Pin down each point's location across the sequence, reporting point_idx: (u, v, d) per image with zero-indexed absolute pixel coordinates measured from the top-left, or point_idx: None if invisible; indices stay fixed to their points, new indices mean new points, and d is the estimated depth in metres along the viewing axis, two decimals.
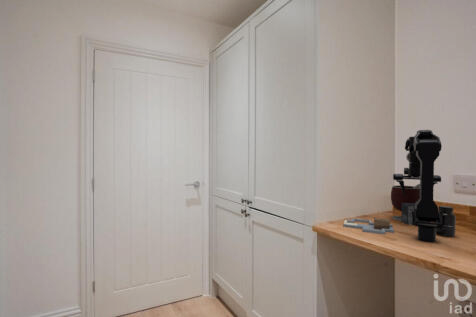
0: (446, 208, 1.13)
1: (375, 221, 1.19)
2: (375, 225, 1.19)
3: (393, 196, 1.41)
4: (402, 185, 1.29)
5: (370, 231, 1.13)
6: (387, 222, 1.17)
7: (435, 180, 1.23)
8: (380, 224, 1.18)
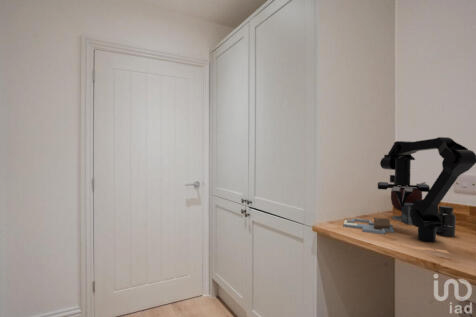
0: (446, 208, 1.13)
1: (375, 221, 1.19)
2: (375, 225, 1.19)
3: (393, 196, 1.41)
4: (399, 196, 1.15)
5: (370, 231, 1.13)
6: (387, 222, 1.17)
7: (423, 190, 1.10)
8: (380, 224, 1.18)
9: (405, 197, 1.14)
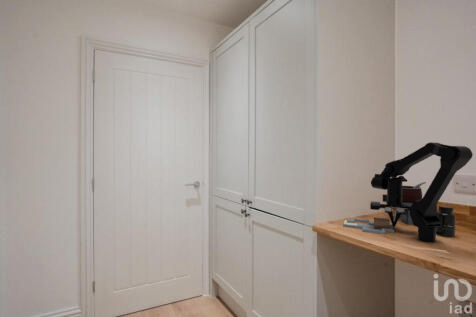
0: (446, 208, 1.13)
1: (375, 221, 1.19)
2: (375, 225, 1.19)
3: None
4: (391, 216, 1.16)
5: (370, 231, 1.13)
6: (387, 222, 1.17)
7: None
8: (380, 224, 1.18)
9: (397, 218, 1.15)
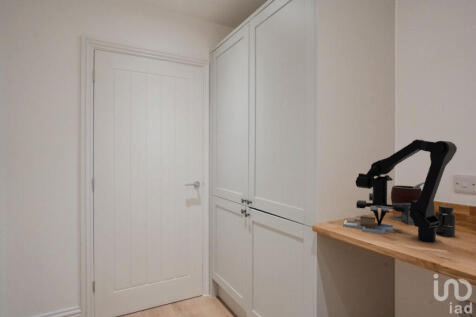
0: (446, 208, 1.13)
1: (361, 220, 1.21)
2: (361, 223, 1.21)
3: (393, 196, 1.41)
4: (376, 215, 1.19)
5: (370, 231, 1.13)
6: (373, 220, 1.19)
7: (398, 210, 1.14)
8: (366, 222, 1.20)
9: (382, 216, 1.18)
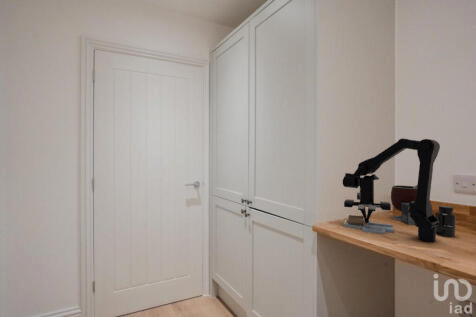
0: (446, 208, 1.13)
1: (349, 218, 1.23)
2: (349, 222, 1.23)
3: (393, 196, 1.41)
4: (363, 213, 1.21)
5: (370, 231, 1.13)
6: (360, 219, 1.21)
7: (384, 208, 1.17)
8: (353, 221, 1.23)
9: (368, 215, 1.20)
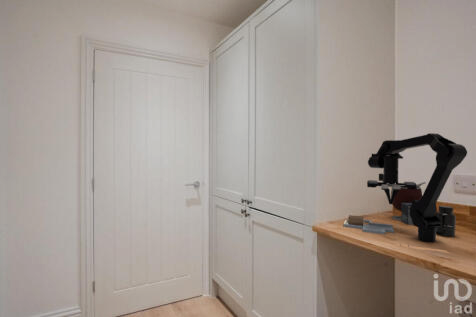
0: (446, 208, 1.13)
1: (349, 218, 1.23)
2: (349, 222, 1.23)
3: None
4: (388, 193, 1.18)
5: (370, 231, 1.13)
6: (360, 219, 1.21)
7: (410, 187, 1.14)
8: (353, 221, 1.23)
9: (393, 195, 1.17)
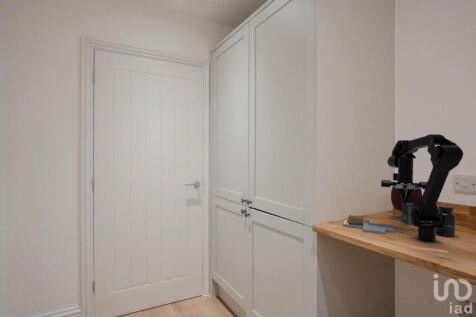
0: (446, 208, 1.13)
1: (349, 218, 1.23)
2: (349, 222, 1.23)
3: (393, 196, 1.41)
4: (402, 193, 1.18)
5: (370, 231, 1.13)
6: (360, 219, 1.21)
7: None
8: (353, 221, 1.23)
9: (408, 194, 1.17)
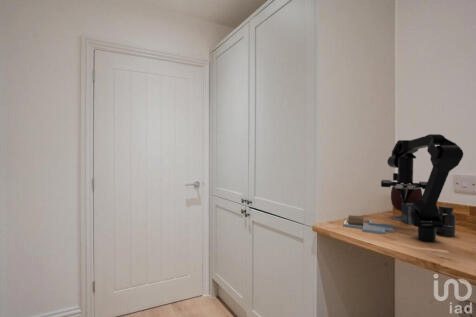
0: (446, 208, 1.13)
1: (349, 218, 1.23)
2: (349, 222, 1.23)
3: (393, 196, 1.41)
4: (402, 193, 1.18)
5: (370, 231, 1.13)
6: (360, 219, 1.21)
7: None
8: (353, 221, 1.23)
9: (408, 194, 1.17)
